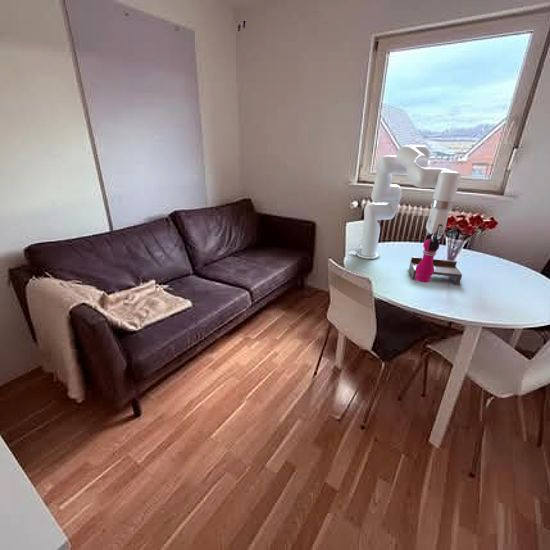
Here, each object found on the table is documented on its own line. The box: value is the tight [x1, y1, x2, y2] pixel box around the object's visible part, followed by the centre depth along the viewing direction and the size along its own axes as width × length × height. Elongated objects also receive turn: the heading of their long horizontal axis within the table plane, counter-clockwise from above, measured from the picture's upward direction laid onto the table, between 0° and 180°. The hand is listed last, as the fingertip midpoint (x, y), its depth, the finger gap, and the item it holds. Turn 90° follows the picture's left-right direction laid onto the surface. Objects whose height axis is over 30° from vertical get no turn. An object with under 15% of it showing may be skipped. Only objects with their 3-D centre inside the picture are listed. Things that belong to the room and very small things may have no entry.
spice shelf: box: [408, 256, 463, 285], centre depth 160 cm, size 22×12×8 cm, turn 77°
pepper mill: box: [415, 235, 440, 284], centre depth 131 cm, size 7×7×20 cm
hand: (430, 247), depth 129 cm, fingers closed on pepper mill, 6 cm apart
